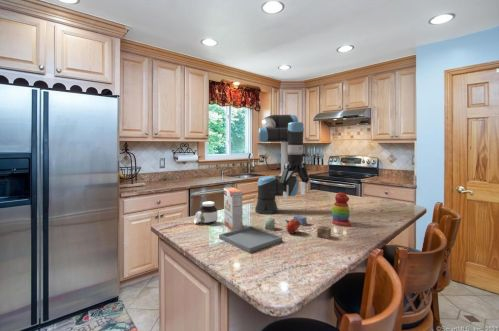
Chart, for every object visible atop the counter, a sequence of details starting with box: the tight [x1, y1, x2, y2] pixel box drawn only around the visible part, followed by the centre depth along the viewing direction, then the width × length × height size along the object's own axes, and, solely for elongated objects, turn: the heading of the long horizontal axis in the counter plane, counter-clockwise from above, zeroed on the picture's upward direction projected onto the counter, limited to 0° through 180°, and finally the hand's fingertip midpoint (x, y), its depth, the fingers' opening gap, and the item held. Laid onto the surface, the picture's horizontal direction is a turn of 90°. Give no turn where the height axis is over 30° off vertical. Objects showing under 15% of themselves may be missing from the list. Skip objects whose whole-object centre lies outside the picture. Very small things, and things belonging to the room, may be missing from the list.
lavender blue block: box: [293, 215, 307, 226], centre depth 148 cm, size 6×4×4 cm, turn 42°
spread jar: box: [193, 200, 218, 225], centre depth 149 cm, size 12×11×12 cm
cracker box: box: [223, 186, 244, 231], centre depth 140 cm, size 14×6×21 cm, turn 23°
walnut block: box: [316, 225, 332, 240], centre depth 127 cm, size 5×5×4 cm
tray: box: [218, 225, 283, 254], centre depth 123 cm, size 22×20×2 cm
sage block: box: [264, 217, 276, 231], centre depth 140 cm, size 5×5×5 cm
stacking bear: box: [331, 191, 353, 228], centre depth 148 cm, size 11×10×18 cm
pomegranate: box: [285, 218, 301, 235], centre depth 132 cm, size 7×7×10 cm
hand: (294, 196), depth 131 cm, fingers open, 13 cm apart
